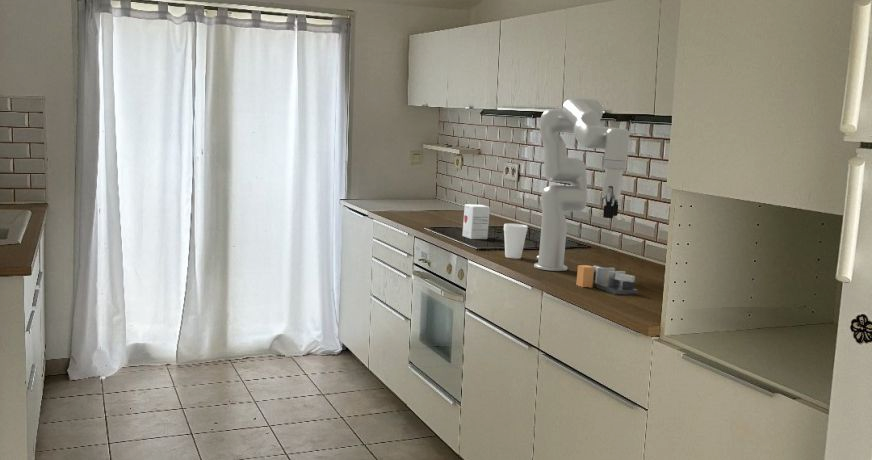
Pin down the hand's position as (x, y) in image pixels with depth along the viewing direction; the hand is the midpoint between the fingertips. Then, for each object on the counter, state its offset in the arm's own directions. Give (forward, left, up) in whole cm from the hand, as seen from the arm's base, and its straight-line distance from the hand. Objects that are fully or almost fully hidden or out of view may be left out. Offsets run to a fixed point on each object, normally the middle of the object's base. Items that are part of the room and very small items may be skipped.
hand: (610, 216), depth 301 cm
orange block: (-7, -3, -25) cm, 26 cm away
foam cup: (-65, -1, -25) cm, 70 cm away
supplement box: (-117, +6, -25) cm, 120 cm away
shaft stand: (-3, +4, -25) cm, 26 cm away
